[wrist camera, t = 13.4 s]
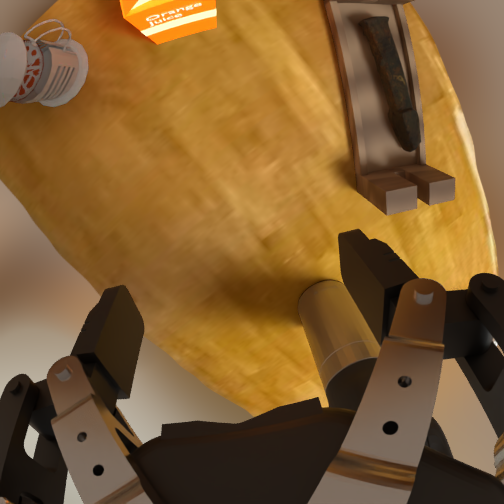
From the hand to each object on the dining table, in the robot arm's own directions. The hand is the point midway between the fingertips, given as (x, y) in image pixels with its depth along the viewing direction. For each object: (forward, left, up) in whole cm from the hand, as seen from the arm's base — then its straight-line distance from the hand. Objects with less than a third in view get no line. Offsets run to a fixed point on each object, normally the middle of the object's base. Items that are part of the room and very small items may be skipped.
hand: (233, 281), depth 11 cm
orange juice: (+20, +1, -30) cm, 36 cm away
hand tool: (+5, -24, -29) cm, 38 cm away
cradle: (+5, -23, -30) cm, 38 cm away
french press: (+18, +18, -30) cm, 40 cm away
